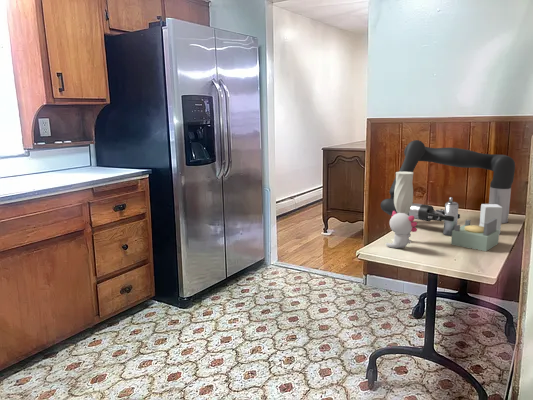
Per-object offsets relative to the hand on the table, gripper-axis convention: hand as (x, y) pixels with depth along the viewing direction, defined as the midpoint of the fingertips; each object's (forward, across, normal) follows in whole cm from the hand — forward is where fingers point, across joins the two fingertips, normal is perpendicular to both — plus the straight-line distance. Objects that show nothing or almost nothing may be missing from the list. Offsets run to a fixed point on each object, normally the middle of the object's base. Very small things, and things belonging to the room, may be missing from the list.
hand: (456, 217), depth 199 cm
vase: (-14, -24, +8) cm, 29 cm away
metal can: (-3, 0, +8) cm, 8 cm away
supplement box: (+9, +15, +8) cm, 20 cm away
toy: (-9, -34, +8) cm, 36 cm away
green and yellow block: (+11, -8, +8) cm, 16 cm away
